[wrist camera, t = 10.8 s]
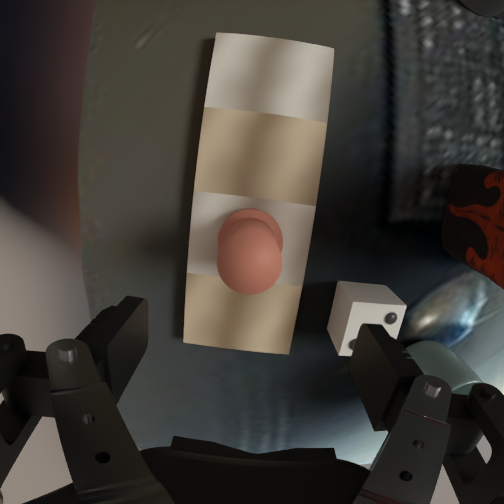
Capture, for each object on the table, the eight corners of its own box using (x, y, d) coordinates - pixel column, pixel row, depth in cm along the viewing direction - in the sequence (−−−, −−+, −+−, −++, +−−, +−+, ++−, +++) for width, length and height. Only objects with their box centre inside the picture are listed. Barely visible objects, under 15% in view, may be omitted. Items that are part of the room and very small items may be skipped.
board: (331, 53, 23) (334, 48, 22) (287, 348, 30) (288, 354, 29) (218, 37, 23) (216, 32, 22) (185, 336, 30) (183, 342, 29)
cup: (382, 394, 32) (412, 454, 23) (383, 340, 30) (422, 399, 21) (438, 375, 32) (477, 425, 22) (444, 321, 30) (494, 368, 20)
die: (385, 285, 29) (407, 306, 24) (372, 330, 30) (390, 357, 25) (337, 280, 29) (353, 302, 24) (326, 328, 30) (339, 356, 25)
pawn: (286, 212, 26) (298, 227, 19) (277, 273, 27) (284, 307, 20) (222, 204, 26) (211, 217, 19) (215, 266, 27) (204, 297, 20)
